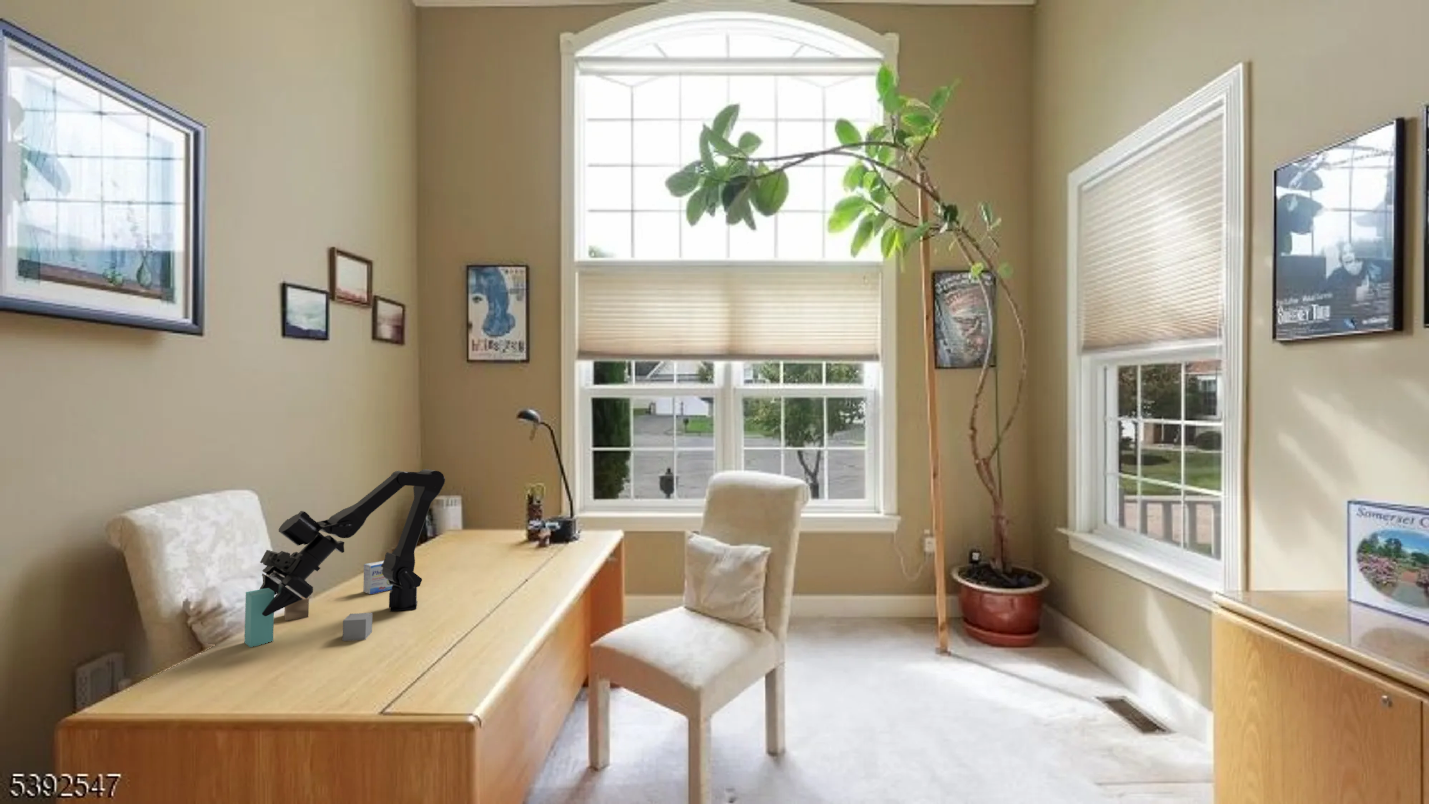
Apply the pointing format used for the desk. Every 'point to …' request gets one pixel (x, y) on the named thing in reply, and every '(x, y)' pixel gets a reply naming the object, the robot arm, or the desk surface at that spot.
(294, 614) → the walnut cube
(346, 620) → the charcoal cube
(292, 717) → the desk surface
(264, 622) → the teal block
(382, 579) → the medicine box
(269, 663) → the desk surface
